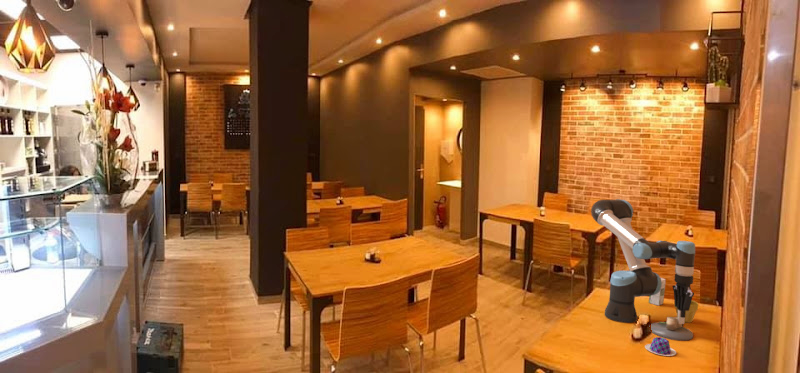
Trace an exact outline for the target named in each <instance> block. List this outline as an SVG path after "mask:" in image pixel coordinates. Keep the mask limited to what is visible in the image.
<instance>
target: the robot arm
mask: <svg viewBox="0 0 800 373" xmlns="http://www.w3.org/2000/svg"><path fill="white" fill-rule="evenodd" d="M590 213H591V217H592V218H593V221H595V222H596V223H597V224H598V225H599V226H604V227H605V228H606V229H607V230H609V231H610V232H611V233H613V235H615V236H616V237H617V240H618V242H619V244H620V245H619V246H620V248H621V250H622V254H623V256H624V259H625V260H626V263H627V266H628V269H629V270H615V271H614V272H612V273H611V277H610V280H609V285H610V286H609V299H608V302H607V305H606V307H605V309H604V316H605V318H606V319H609V320H612V321H615V322H620V323H636V322H637V321H636V320H638V313H637V310H636V306H635V298H636V297H638V298H639V297H649V296H651V295H655V294H657V293H658V292H659V291H660V288H661V286H662V282H661V278H662V277H661V276H660V275H659V274H658V273H657V272H654V271H653V269H652V267H651V266H649V265H648V264H647V262H646V260H650V259H665V258H667V259H672V260H675V266H674V267H675V268H674V273H675V274H674V282H675V284H674V285H672V289H673V299H674V301H675V306H676V307H677V309H678V320H677V323H678V324H683V325H684V324H685V322H684V321H685V311H689V308H690V305H691V301H692V300H693V297H694V295H695V293H694V292H692V289H691V285H693V283H694V276H693V275H694V272H695V271H694V270H695V257H696V244H695V243H694V242H692V241H687V240H678V241H677V242H676V243H673V242H671V241H667V240H658V241H656V242H651V241H648V240H647V239H646V238H644V237H643V236H642V235H641V234H639V233H638V232H636V231H635V230H634V229H633V227H632V224H631V223H632V220H633V219H632V217H633V216H634V208H633V206H632V204H631V203H630V202H629V201H627V200H625V199H620V198H619V199H618V198H617V199H599V200H597V201H595V202H594V203H593V205H592V206H591V208H590ZM675 306H674V307H675ZM676 307H675V308H676Z"/></svg>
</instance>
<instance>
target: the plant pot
mask: <svg viewBox="0 0 800 373" xmlns="http://www.w3.org/2000/svg"><path fill="white" fill-rule="evenodd" d="M673 306H674V308H675V312H676V317H678V309H677V307H676V306H675V301H674V304H673ZM698 308H699V302H697V301H695V300H693V299H692V301H691V305H690V308H689V311H685V321H684V323H692V322H693V320H694V318H695V314H696V312H697V311H698Z"/></svg>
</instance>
